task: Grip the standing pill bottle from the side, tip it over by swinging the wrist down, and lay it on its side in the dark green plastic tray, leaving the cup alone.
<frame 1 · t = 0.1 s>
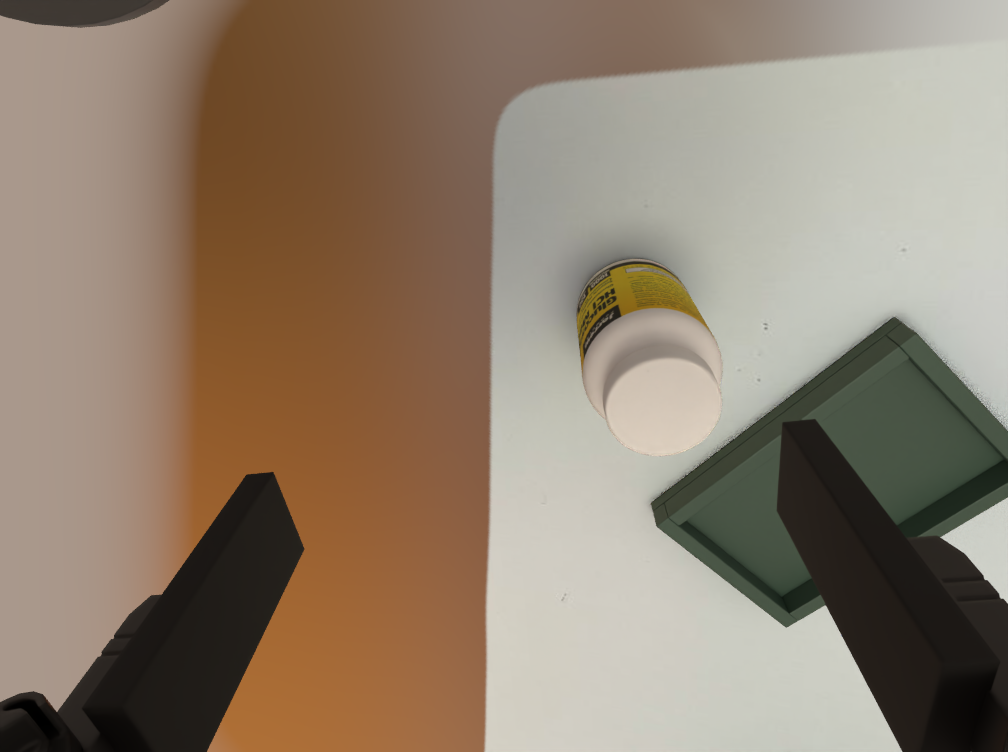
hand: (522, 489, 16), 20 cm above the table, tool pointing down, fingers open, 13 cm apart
pill bottle: (629, 308, 34), on the table
tray: (826, 478, 38), on the table
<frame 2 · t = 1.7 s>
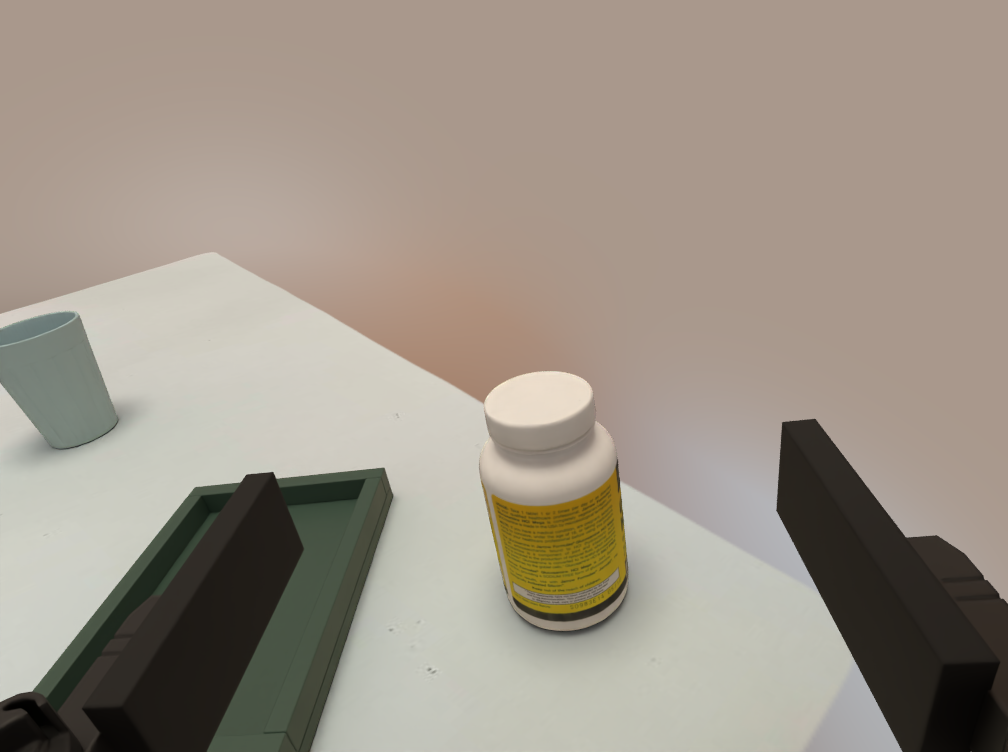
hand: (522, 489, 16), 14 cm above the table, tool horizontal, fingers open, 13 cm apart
cup: (86, 433, 55), on the table
pill bottle: (567, 587, 31), on the table
tray: (240, 615, 32), on the table
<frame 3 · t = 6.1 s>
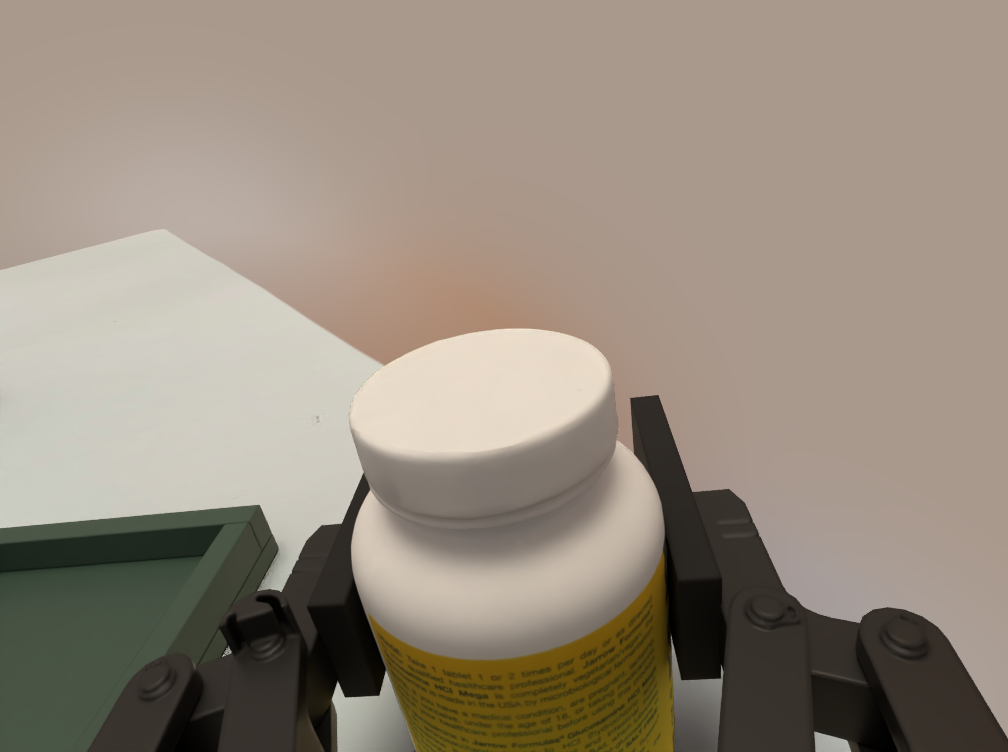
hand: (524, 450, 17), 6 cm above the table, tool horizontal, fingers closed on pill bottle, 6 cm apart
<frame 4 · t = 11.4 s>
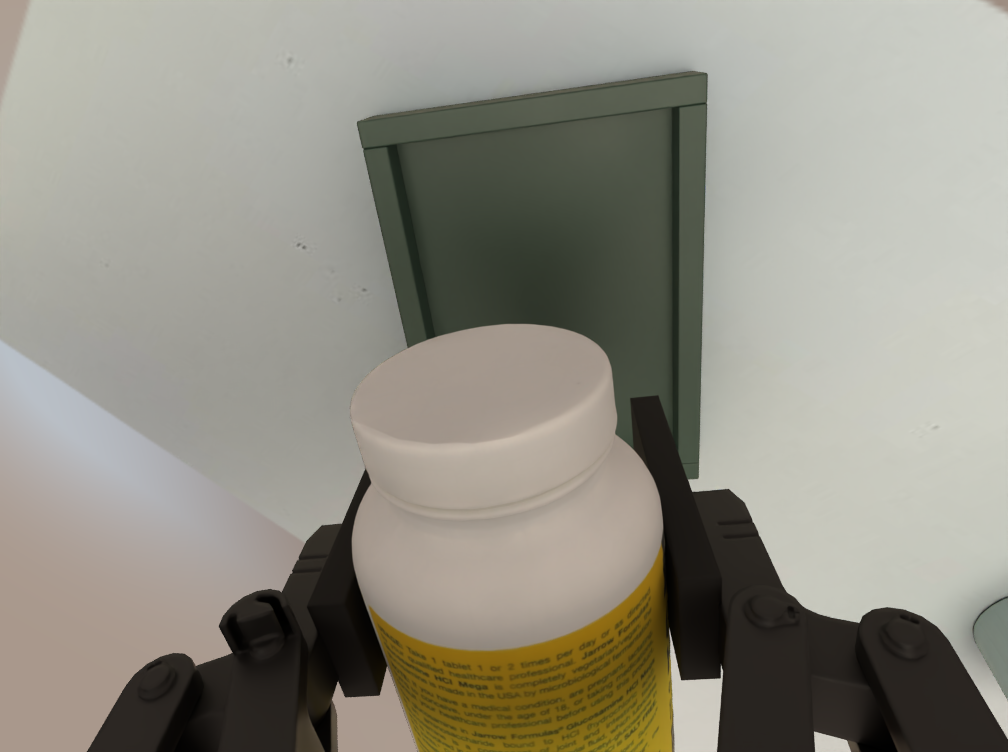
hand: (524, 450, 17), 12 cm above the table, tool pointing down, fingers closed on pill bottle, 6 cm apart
tray: (549, 303, 28), on the table
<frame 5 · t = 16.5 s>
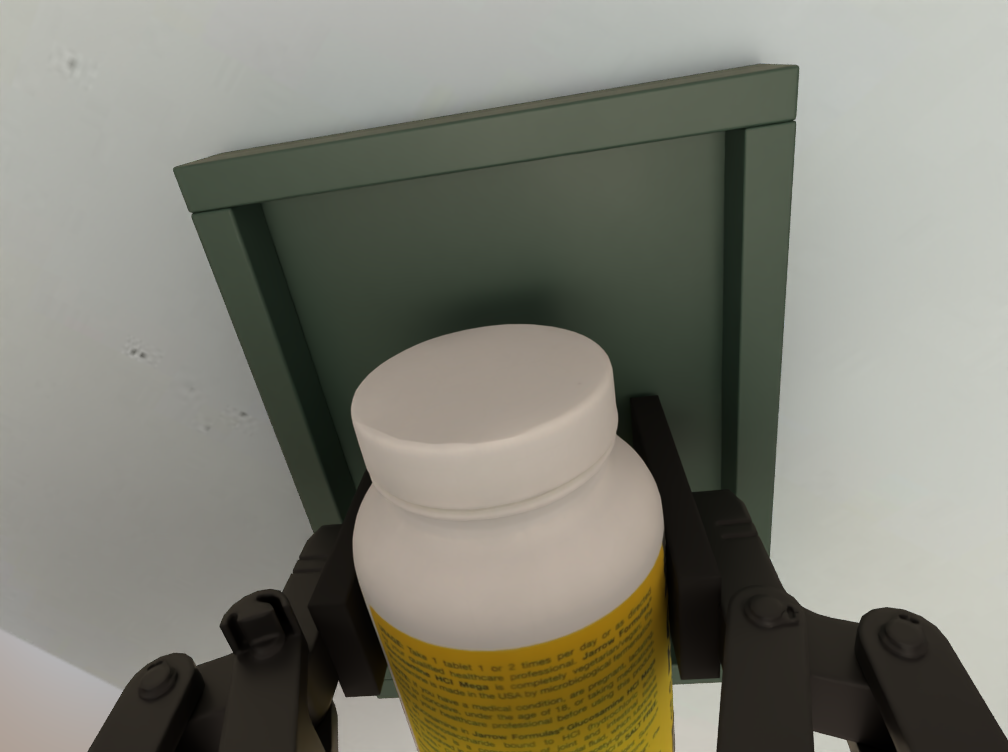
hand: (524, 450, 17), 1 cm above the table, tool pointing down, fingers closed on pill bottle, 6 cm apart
tray: (527, 430, 18), on the table
when the fingers open (2 cm above the table, at t = 22.8 s): pill bottle drops 3 cm, resting on tray.
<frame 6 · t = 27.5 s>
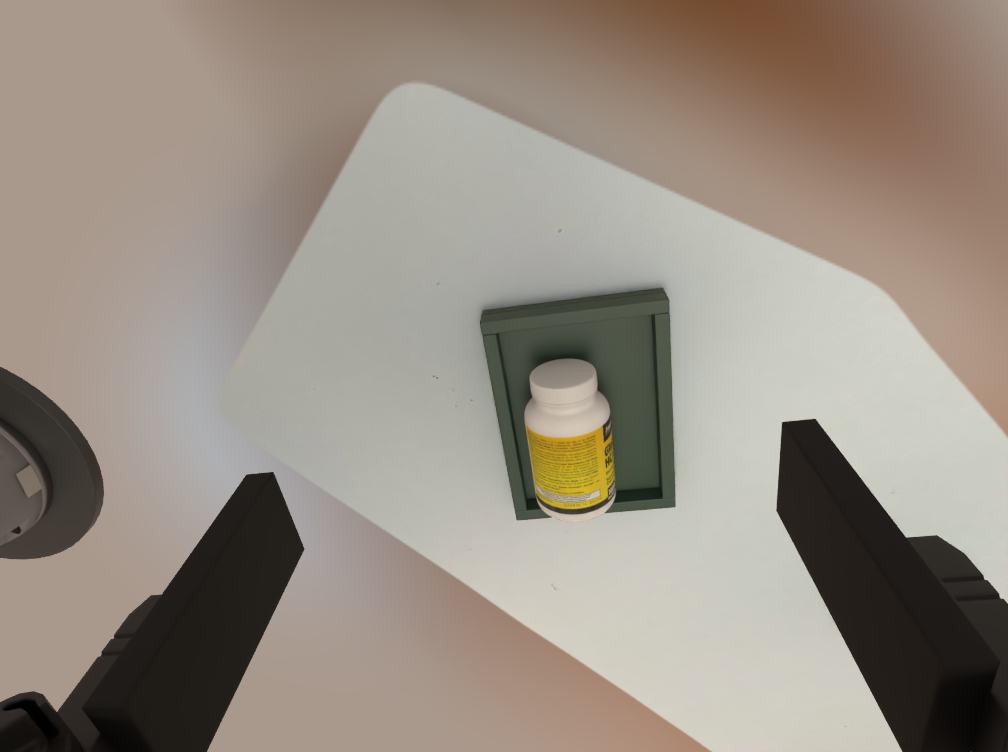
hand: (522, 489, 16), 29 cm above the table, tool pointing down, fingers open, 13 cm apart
pill bottle: (576, 499, 47), point 4 cm above the table, touching tray
tray: (582, 406, 48), on the table
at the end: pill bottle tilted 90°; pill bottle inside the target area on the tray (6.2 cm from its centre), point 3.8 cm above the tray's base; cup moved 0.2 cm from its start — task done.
